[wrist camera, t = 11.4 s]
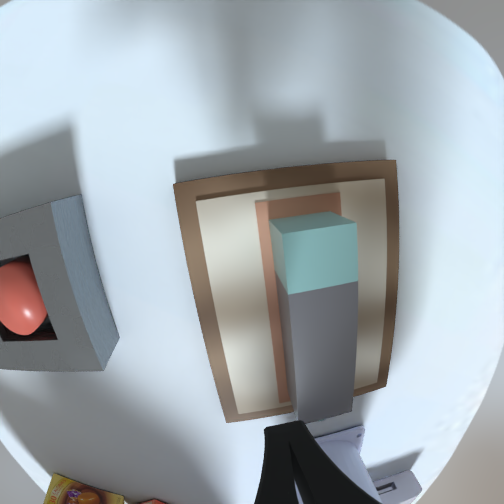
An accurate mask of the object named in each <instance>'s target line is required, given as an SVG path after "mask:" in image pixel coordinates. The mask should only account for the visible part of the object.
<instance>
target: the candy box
mask: <svg viewBox="0 0 504 504" xmlns="http://www.w3.org/2000/svg"><path fill="white" fill-rule="evenodd" d="M43 504H124V496H122V495H118V494H114V493H111V492H107V491H104V490H100V489H97V488H94V487H91V486H88V485H85V484H82V483H79V482H76V481H73V480H71V479H68V478H65V477H63V476H60V475H58V474H55V473H54V474H53V476H52V479H51V482H50V485H49V488H48V491H47V494H46V497H45V500H44V503H43Z"/></svg>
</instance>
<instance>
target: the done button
mask: <svg viewBox="0 0 504 504" xmlns="http://www.w3.org/2000/svg"><path fill="white" fill-rule="evenodd" d="M47 317H48V313H47V310H46V308H45V305H44V302H43V299H42V296H41V293H40V290H39V287H38V284H37V281H36V278H35V274H34V271H33V268H32V264H31V261H30V257H29V256H20V257H18V258H16V259H14V260H12V261H11V262H9V263H7V264H5V265H4V266H2V267H0V321H1V322H2V323H3V324H4V325H5V326H6V327H7V328H8V329H9V330H11V331H13V332H15V333H17V334H20V335H29V334H31V333H33V332H34V331H35V330H36V329H37V328H38V327H39V326H40V325H41V324H42V323H43V322H44V320H45V319H46V318H47Z"/></svg>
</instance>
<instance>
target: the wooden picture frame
mask: <svg viewBox="0 0 504 504" xmlns="http://www.w3.org/2000/svg"><path fill="white" fill-rule="evenodd" d="M173 188H174V194H175V200H176V206H177V212H178V218H179V224H180V229H181V235H182V240H183V245H184V250H185V256H186V261H187V266H188V271H189V275H190V280H191V285H192V290H193V294H194V299H195V303H196V308H197V312H198V317H199V321H200V325H201V329H202V334H203V338H204V342H205V346H206V350H207V354H208V358H209V362H210V366H211V369H212V373H213V377H214V381H215V384H216V388H217V392H218V395H219V399H220V402H221V406H222V409H223V413H224V416H225V420H226V423H231V422H238V421H245V420H252V419H258V418H264V417H270V416H275V415H281V414H286V413H291V412H294V409H293V406H292V403H291V400H290V397H289V393H288V390H287V379H286V369H285V360H284V350H283V340H282V331H281V322H280V313H279V304H278V295H277V286H276V277H275V269H274V260H273V252H272V244H271V236H270V228H269V220H271V219H278V218H285V217H292V216H299V215H306V214H313V213H320V212H327V211H331V212H333V213H335V214H338V215H340V216H342V217H345V218H347V219H349V220H351V221H354V222H356V224H357V246H358V330H357V352H356V368H355V381H354V393H353V397H355V396H358V395H361V394H365V393H368V392H371V391H374V390H377V389H380V388H383V387H386V384H387V378H388V372H389V365H390V359H391V351H392V344H393V335H394V326H395V316H396V304H397V290H398V270H399V201H398V181H397V167H396V160H373V161H355V162H340V163H327V164H315V165H304V166H294V167H285V168H276V169H267V170H259V171H251V172H244V173H236V174H229V175H223V176H216V177H209V178H203V179H197V180H191V181H185V182H180V183H175V184H173Z"/></svg>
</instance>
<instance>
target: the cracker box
mask: <svg viewBox="0 0 504 504" xmlns="http://www.w3.org/2000/svg"><path fill="white" fill-rule="evenodd" d="M140 504H165V503H163V502H161V501H158V500H156V499H153V500H150V501H147V502H143V503H140Z"/></svg>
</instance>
